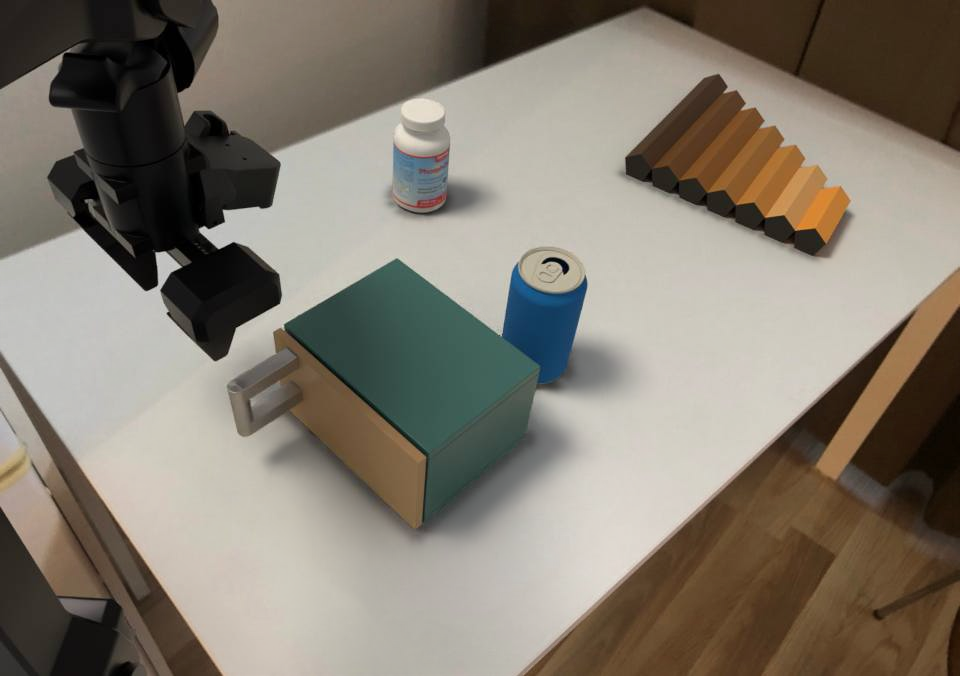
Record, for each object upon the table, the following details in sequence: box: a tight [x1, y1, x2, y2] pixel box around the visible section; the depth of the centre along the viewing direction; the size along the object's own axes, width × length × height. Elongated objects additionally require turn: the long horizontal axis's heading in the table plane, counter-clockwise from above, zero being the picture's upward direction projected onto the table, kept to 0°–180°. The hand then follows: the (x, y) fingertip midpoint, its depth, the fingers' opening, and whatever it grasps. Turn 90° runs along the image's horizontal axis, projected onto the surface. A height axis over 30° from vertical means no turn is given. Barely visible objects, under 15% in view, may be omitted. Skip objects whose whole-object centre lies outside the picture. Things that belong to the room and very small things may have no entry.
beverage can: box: [501, 245, 588, 385], centre depth 70 cm, size 6×6×12 cm
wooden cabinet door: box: [226, 327, 426, 531], centre depth 61 cm, size 6×17×9 cm, turn 46°
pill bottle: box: [392, 98, 451, 214], centre depth 86 cm, size 6×6×11 cm
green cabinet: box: [283, 257, 540, 523], centre depth 66 cm, size 12×17×10 cm
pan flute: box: [624, 73, 852, 257], centre depth 99 cm, size 25×3×25 cm
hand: (184, 321), depth 58 cm, fingers open, 9 cm apart
